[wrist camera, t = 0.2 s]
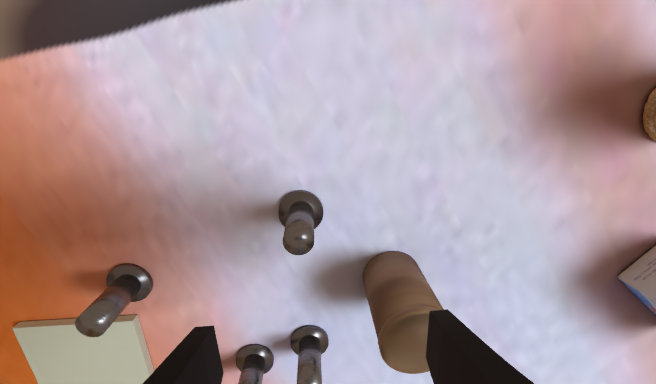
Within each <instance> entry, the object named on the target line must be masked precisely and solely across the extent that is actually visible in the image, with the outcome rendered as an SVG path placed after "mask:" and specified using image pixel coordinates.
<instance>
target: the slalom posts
mask: <svg viewBox="0 0 656 384" xmlns="http://www.w3.org/2000/svg"><path fill="white" fill-rule="evenodd" d="M279 218H280V221H281V222H282V224H283V225H284V226H285V232H284V237H283V245H284V247H285V249H286V250H287V251H288V252H289V253H291V254H294V255H303V254H306V253H308V252H309V251H310V250H311V249H312V247H313V245H314V229H315V228H316V227H317V226H318V225H319V224H320V222H321V220H322V218H323V207H322V204H321V202H320V200H319V199H318V197H316V196H315V195H314V194H312V193H310V192H308V191H294V192H291V193H289V194H288V195H286V196H285V197H284V199H283V200H282V201H281V204H280V207H279ZM106 282H107V286H108V288H107V289H106V290H105V291H104V292H103V293H102V294H101V295H100V296H99V297H98V298H97V299H96V300H95V301H94V302H93V303H92V304H91V305H90V306H89V307H88V308H87V309H86V310H85V311H84V312H83V313H82V314H81V315H80V316H79V317H78V318H77V319H76V321H75V326H76V328H77V330H78V331H79V332H80V333H81V334H83V335H85V336H88V337H99V336H101V335H103V334H104V333H105V331H106V330H107V329H108V328H109V327H110V325H111V324H112V323H113V322H114V321H115V320H116V318H117V317H118V316H119V315H120V314H121V312H122V311H123V310H124V309H125V308H126V306H127V305H128V304H129V303H130V302H135V301H140V300H142V299H144V298H146V297H147V296H148V294H149V293H150V292H151V290H152V287H153V281H152V278H151V276H150V275H149V273H148V272H147V271H146V270H144V269H143V268H141V267H139V266H137V265H133V264H122V265H118V266H117V267H115V268H114V269H113V270H112V271H111V272H110V273H109V274H108V276H107V280H106ZM291 347H292V349H293V351H294V352H295V353H296V354H297V355H298V373H297V384H322V375H321V354H322V353H324V352H325V351H326V349H327V347H328V335H327V333H326V332H325V331H324V330H323V329H321V328H320V327H317V326H304V327H301V328H299V329H297V330H296V331H295V332H294V333H293V335H292V338H291ZM273 361H274V356H273V354H272V352H271V351H270V350H269V349H268V348H267V347H265V346H262V345H257V344H252V345H248V346H245V347H243V348H242V349H241V350H240V351H239V352H238V354H237V358H236V365H237V367H238V368H239V370H240V371H241V375H240V379H239V383H238V384H262V379H263V374H265V373H267V372H268V371H269V370H270V369H271V368H272V366H273Z"/></svg>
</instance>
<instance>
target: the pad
mask: <svg viewBox="0 0 656 384" xmlns="http://www.w3.org/2000/svg"><path fill="white" fill-rule="evenodd" d="M76 319H77V318H75V319H58V320H41V321H24V322H19V323H18V324H17V325H15V326H14V327H13V328H12V329H13V331H14V333H15V335H16V338H17V340H18V342H19V344H20V346H21V348H22V350H23V352H24V354H25V356H26V358H27V361H28V363H29V365H30V367H31V369H32V371H33V373H34V375H35V377H36V379H37V381H38V383H39V384H143V383H144V381H145V380H146V379H147V378H148V377H149V376H150V375H151V374H152V373H153V372H154V369H153V365H152V362H151V359H150V355H149V352H148V349H147V345H146V342H145V339H144V335H143V332H142V329H141V325H140V322H139V319H138V315H125V316H118V317H117V318H116V320H115V321H114V322H113V323H112V324H111V325H110V327H109V328H108V329H107V330H106V331H105V333H104V334H103V335H101V336H99V337H88V336H85V335H83V334H81V333H80V332H79V331H78V330H77V328H76V326H75V321H76Z"/></svg>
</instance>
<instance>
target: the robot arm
mask: <svg viewBox="0 0 656 384" xmlns="http://www.w3.org/2000/svg"><path fill="white" fill-rule="evenodd" d="M426 360H427V363H428V367H429V370H430V373H431V376H432V379H433V382H434V384H534V383H533V382H531V381H530V380H529V379H528V378H526V377H525V376H524V375H522V374H521V373H520V372H519V371H517V370H516V369H515V368H514V367H513V366H511V365H510V364H509V363H508V362H506V361H505V360H504V359H503V358H502V357H500V356H499V355H498V354H497V353H496V352H495V351H493V350H492V349H491V348H490V347H489V346H488V345H487V344H485V343H484V342H483V341H482V340H481V339H480V338H479V337H477V336H476V335H475V334H474V333H473V332H472V331H471V330H470V329H469V328H467V327H466V326H465V325H464V324H463V323H462V322H461V321H460V320H459V319H457V318H456V317H455V316H454V315H453V314H452V313H451V312H450V311H449V310H434V311H429V323H428V335H427V347H426ZM222 377H223V368H222V364H221V359H220V354H219V349H218V344H217V340H216V335H215V330H214V326H204V327H195V328H194V329H193V330H192V331H191V332H190V333H189V334H188V335H187V336H186V337H185V338H184V339H183V340H182V342H181V343H180V344H179V345H178V346H177V347H176V348H175V349H174V350H173V351H172V353H171V354H170V355H169V356H168V357H167V358H166V359H165V360H164V361H163V362H162V363H161V365H160V366H159V367H158V368H157V369H156V370H155V371H154V372H153V373H152V374H151V375H150V376H149V377H148V378H147V379H146V380H145V381H144V383H143V384H221V382H222Z"/></svg>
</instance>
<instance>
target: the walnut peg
mask: <svg viewBox="0 0 656 384" xmlns="http://www.w3.org/2000/svg"><path fill="white" fill-rule="evenodd" d="M363 283H364V287H365V291H366V295H367V299H368V303H369V306H370V310H371V314H372V318H373V322H374V326H375V330H376V334H377V337H378V345H379V349H380V353H381V356H382V358H383V360H384V361H385V363H386V364H387V365H388V366H390V367H391V368H393V369H394V370H397V371H399V372H403V373H409V374H417V373H424V372H428V371H430V370H429V367H428V363H427V360H426V347H427V335H428V323H429V311H434V310H444V309H443V308H442V306H441V304H440V303H439V301H438V299H437V297H436V296H435V294H434V292H433V291H432V289H431V287H430V285H429V284H428V282H427V280H426V279H425V277H424V275H423V273H422V272H421V270H420V268H419V267H418V265H417V263H416V262H415V260H414V259H413V258H412V257H411V256H409V255H408V254H406V253H403V252H399V251H388V252H384V253H381V254H379V255H377V256H375V257H374V258H373V259H371V260H370V261H369V263H368V264H367V265H366V267H365V269H364V272H363Z"/></svg>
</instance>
